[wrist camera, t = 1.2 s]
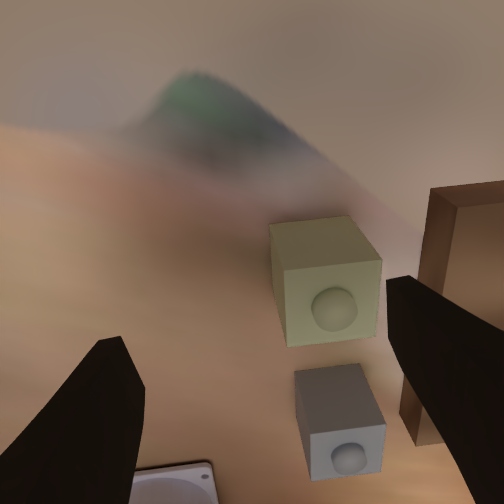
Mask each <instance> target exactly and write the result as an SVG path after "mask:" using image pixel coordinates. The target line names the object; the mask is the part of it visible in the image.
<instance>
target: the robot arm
mask: <svg viewBox="0 0 504 504" xmlns="http://www.w3.org/2000/svg"><path fill="white" fill-rule="evenodd" d="M386 291H387V321H388V339H389V341H390V344H391V346H392V348H393V351H394V353H395V355H396V358H397V360H398V362H399V364H400V367H401V369H402V371H403V373H404V374H405V376H406V378H407V380H408V381H409V383H410V385H411V386H412V388H413V390H414V392H415V393H416V395H417V397H418V398H419V400H420V402H421V403H422V405H423V407H424V408H425V410H426V412H427V413H428V415H429V417H430V418H431V420H432V422H433V423H434V425H435V427H436V429H437V430H438V432H439V434H440V435H441V437H442V439H443V440H444V442H445V444H446V445H447V447H448V449H449V451H450V452H451V454H452V456H453V458H454V460H455V462H456V464H457V465H458V467H459V470H460V472H461V474H462V476H463V478H464V480H465V482H466V484H467V486H468V488H469V491H470V493H471V495H472V497H473V499H474V501H475V503H476V504H504V331H503V330H501V329H499V328H497V327H495V326H493V325H491V324H489V323H488V322H486V321H484V320H482V319H480V318H479V317H477V316H475V315H473V314H472V313H470V312H468V311H467V310H465V309H463V308H461V307H460V306H458V305H456V304H455V303H453V302H452V301H450V300H448V299H447V298H445V297H443V296H442V295H440V294H439V293H437V292H435V291H434V290H432V289H431V288H429V287H427V286H426V285H424V284H423V283H421V282H420V281H418V280H416V279H415V278H413V277H411V276H410V275H407V276H403V277H398V278H393V279H388V280H386ZM144 407H145V387H144V384H143V382H142V380H141V378H140V376H139V374H138V372H137V370H136V367H135V365H134V363H133V361H132V359H131V357H130V355H129V353H128V350H127V348H126V346H125V344H124V342H123V340H122V338H121V336H117V337H112V338H108V339H103V340H99V341H98V342H97V343H96V344H95V345H94V346H93V347H92V349H91V350H90V351H89V352H88V353H87V355H86V356H85V357H84V358H83V360H82V361H81V362H80V363H79V365H78V366H77V367H76V368H75V370H74V371H73V372H72V373H71V375H70V376H69V377H68V378H67V380H66V381H65V382H64V383H63V385H62V386H61V387H60V388H59V389H58V391H57V392H56V393H55V394H54V396H53V397H52V398H51V399H50V401H49V402H48V403H47V404H46V405H45V406H44V408H43V409H42V410H41V411H40V412H39V413H38V414H37V416H36V417H35V418H34V419H33V420H32V421H31V422H30V423H29V425H28V426H27V427H26V428H25V429H24V430H23V431H22V433H21V434H20V435H19V436H18V437H17V438H16V439H15V440H14V442H13V443H12V444H11V445H10V446H9V447H8V448H7V449H6V450H5V451H4V452H3V453H2V454H1V455H0V504H219V502H218V497H217V492H216V487H215V482H214V477H213V472H212V466H211V465H210V464H209V463H196V464H189V465H181V466H174V467H167V468H159V469H152V470H144V471H137V472H135V468H136V463H137V457H138V452H139V446H140V441H141V435H142V429H143V422H144Z"/></svg>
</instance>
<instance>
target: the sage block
mask: <svg viewBox="0 0 504 504" xmlns="http://www.w3.org/2000/svg"><path fill="white" fill-rule="evenodd" d="M269 232H270V249H271V265H272V281H273V293H274V297H275V301H276V305H277V309H278V313H279V317H280V321H281V325H282V329H283V333H284V337H285V341H286V345H287V348H288V347H296V346H304V345H313V344H321V343H329V342H337V341H345V340H353V339H361V338H369V337H375V336H376V325H377V314H378V303H379V292H380V280H381V269H382V258H381V257H380V256H379V254H378V253H377V252H376V250H375V249H374V248H373V246H372V245H371V244H370V243H369V241H368V240H367V239H366V237H365V236H364V235H363V233H362V232H361V231H360V229H359V228H358V227H357V225H356V224H355V223H354V222H353V220H352V219H351V218H350V216H340V217H331V218H322V219H313V220H303V221H294V222H285V223H276V224H269Z"/></svg>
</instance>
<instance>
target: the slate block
mask: <svg viewBox="0 0 504 504" xmlns="http://www.w3.org/2000/svg"><path fill="white" fill-rule="evenodd" d="M295 399H296V418H297V422H298V427H299V431H300V436H301V440H302V444H303V449H304V453H305V458H306V462H307V466H308V471H309V475H310V479H311V482H312V481H319V480H326V479H333V478H340V477H348V476H355V475H362V474H369V473H377V472H381V466H382V458H383V449H384V441H385V432H386V422H385V420H384V418H383V415H382V413H381V411H380V409H379V407H378V404H377V402H376V400H375V398H374V395H373V393H372V391H371V389H370V387H369V384H368V382H367V380H366V378H365V376H364V373H363V371H362V369H361V367H360V365H359V363H358V364H350V365H342V366H334V367H326V368H318V369H310V370H302V371H295Z"/></svg>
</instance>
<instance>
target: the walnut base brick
mask: <svg viewBox="0 0 504 504" xmlns="http://www.w3.org/2000/svg"><path fill="white" fill-rule="evenodd" d="M418 281H420V282H421V283H423V284H424V285H426V286H427V287H429V288H431V289H432V290H434V291H435V292H437V293H439V294H440V295H442V296H443V297H445V298H447V299H448V300H450V301H452V302H453V303H455V304H456V305H458V306H460V307H461V308H463V309H465V310H467V311H468V312H470V313H472V314H473V315H475V316H477V317H479V318H480V319H482V320H484V321H486V322H488V323H489V324H491V325H493V326H495V327H497V328H499V329H501V330H503V331H504V181H494V182H485V183H476V184H466V185H457V186H447V187H439V188H431V189H430V196H429V203H428V210H427V218H426V225H425V232H424V239H423V246H422V253H421V261H420V268H419V275H418ZM399 414H400V416H401V418H402V420H403V422H404V424H405V426H406V428H407V430H408V432H409V434H410V436H411V438H412V440H413V442H414V444H415V446H423V445H431V444H438V443H445V442H444V440H443V439H442V437H441V435H440V434H439V432H438V430H437V429H436V427H435V425H434V423H433V422H432V420H431V418H430V417H429V415H428V413H427V412H426V410H425V408H424V407H423V405H422V403H421V402H420V400H419V398H418V397H417V395H416V393H415V392H414V390H413V388H412V386H411V385H410V383H409V381H408V380H407V378H406V376H404V383H403V390H402V398H401V405H400V412H399Z"/></svg>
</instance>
